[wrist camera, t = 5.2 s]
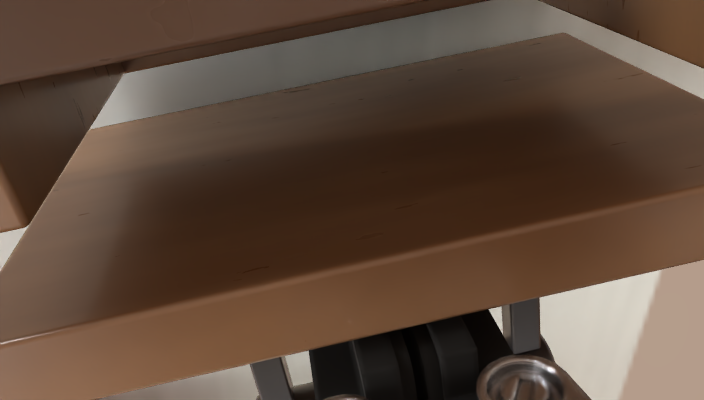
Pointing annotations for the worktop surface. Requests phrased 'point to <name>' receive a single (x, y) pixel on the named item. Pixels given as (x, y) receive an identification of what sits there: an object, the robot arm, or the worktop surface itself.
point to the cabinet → (143, 28)
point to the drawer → (338, 203)
